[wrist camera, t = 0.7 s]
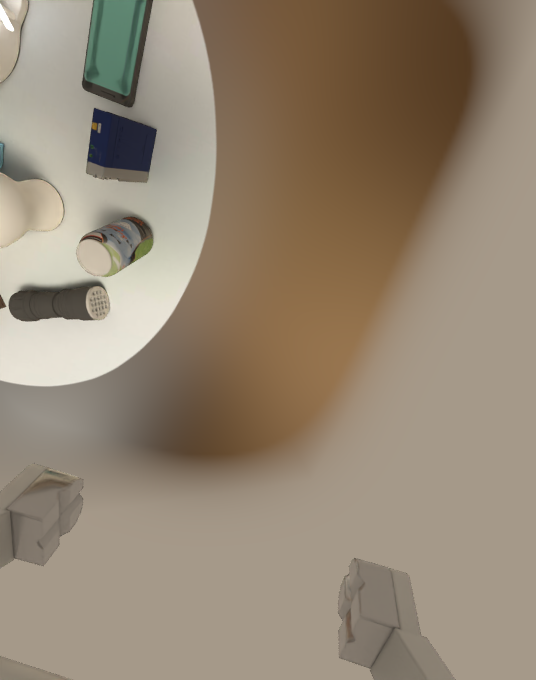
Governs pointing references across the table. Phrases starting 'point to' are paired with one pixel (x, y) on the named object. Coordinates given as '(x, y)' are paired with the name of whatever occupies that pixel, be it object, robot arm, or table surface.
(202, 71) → the table surface
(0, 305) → the can holder
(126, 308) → the table surface
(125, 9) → the smartphone
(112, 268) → the beverage can
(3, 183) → the cup
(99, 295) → the flashlight
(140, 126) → the blue rectangular block
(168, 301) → the table surface
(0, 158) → the chair
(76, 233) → the table surface
